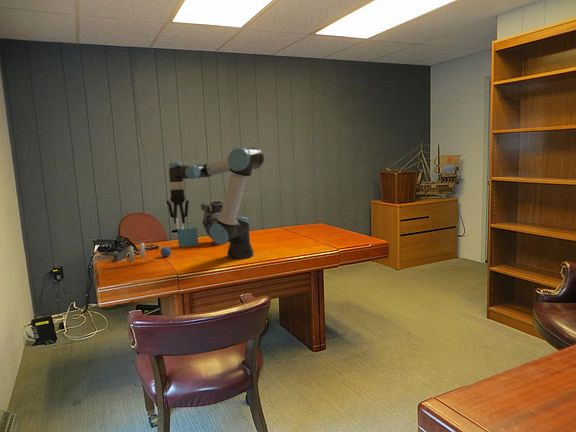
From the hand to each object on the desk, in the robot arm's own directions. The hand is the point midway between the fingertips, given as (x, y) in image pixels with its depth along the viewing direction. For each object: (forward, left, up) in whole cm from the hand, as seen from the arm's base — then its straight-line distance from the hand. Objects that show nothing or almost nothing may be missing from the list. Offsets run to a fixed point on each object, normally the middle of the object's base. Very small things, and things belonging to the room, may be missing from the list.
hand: (180, 228), depth 250 cm
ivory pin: (+23, 0, -16) cm, 29 cm away
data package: (+4, -30, -17) cm, 35 cm away
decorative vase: (-15, -37, -17) cm, 43 cm away
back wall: (+35, 0, -16) cm, 39 cm away
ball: (+9, 0, -13) cm, 16 cm away
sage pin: (+26, +9, -16) cm, 32 cm away
